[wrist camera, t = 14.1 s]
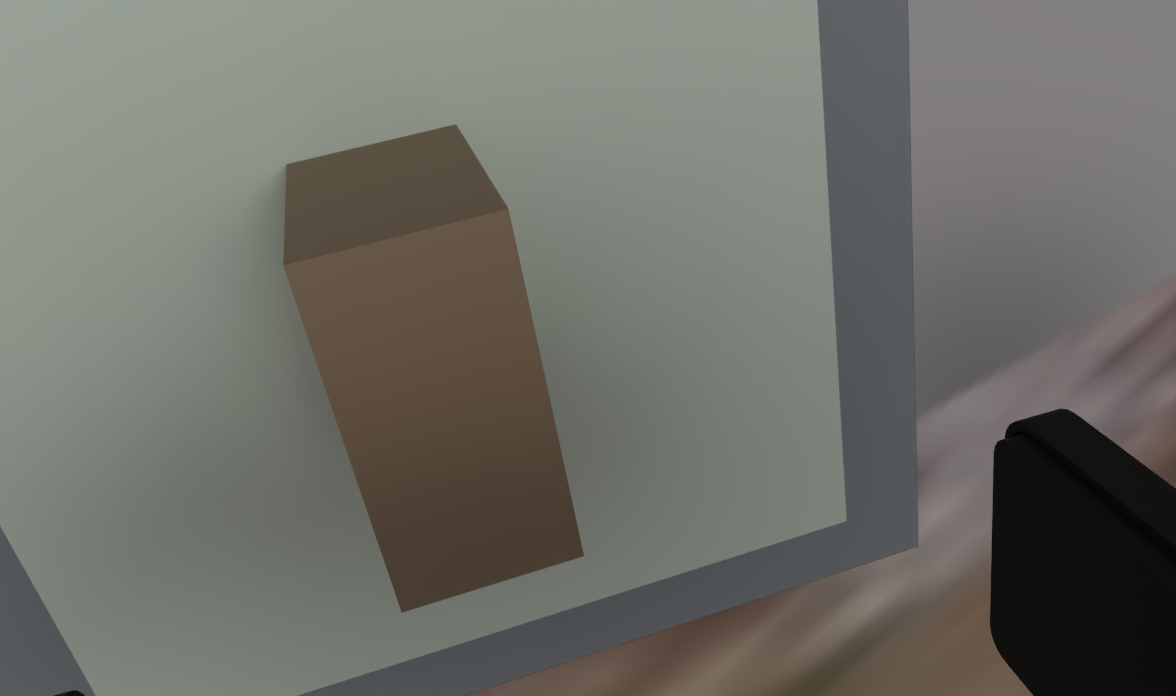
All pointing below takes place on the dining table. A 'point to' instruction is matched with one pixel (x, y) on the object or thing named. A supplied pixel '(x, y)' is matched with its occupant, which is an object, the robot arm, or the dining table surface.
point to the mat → (867, 404)
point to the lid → (401, 319)
